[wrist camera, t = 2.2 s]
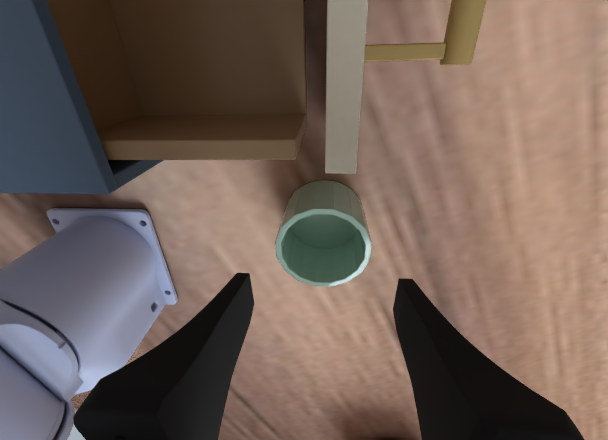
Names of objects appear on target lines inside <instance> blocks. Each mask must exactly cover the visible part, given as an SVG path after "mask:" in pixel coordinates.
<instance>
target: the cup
mask: <svg viewBox="0 0 608 440" xmlns="http://www.w3.org/2000/svg"><path fill="white" fill-rule="evenodd" d="M275 244H276V255H277V258H278V260H279V262H280V263H281V265H282V267H283V268H284V270H285V271H286V272H287V273H289V274H290V275H291V276H293V277H294V278H295V279H296V280H298V281H301V282H304V283H307V284H309V285H312V286H328V287H331V286H335V285H339V284H343V283H346V282H349V281H350V280H352V279H353V278H354V277H356V276H357V275H359V274H360V273H361V272H362V271H363V269H364V268H365V266H366V265H367V263H368V262H369V260H370V255H371V246H372V244H371V239H370V234H369V230H368V226H367V221H366V217H365V213H364V210H363V207H362V204H361V202H360V199H359V198H358V196H357V195H356V194H355V193H354V192H353V191H352V190H351V189H350V188H348V187H347V186H345V185H343V184H341V183H338V182H335V181H329V180H319V181H313V182H310V183H307V184H305V185H303V186H302V187H300V188H299V189H297V190H296V191H295V192H294V193H293V194H292V196H291V197H290V199H289V201H288V203H287V206H286V208H285V211H284V214H283V217H282V221H281V224H280V227H279V231H278V234H277V238H276V242H275Z"/></svg>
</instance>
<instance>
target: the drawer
mask: <svg viewBox="0 0 608 440" xmlns="http://www.w3.org/2000/svg"><path fill="white" fill-rule="evenodd" d="M47 3H48V5H49V8H50V10H51V13H52V16H53V18H54V21H55V24H56V26H57V29H58V31H59V34H60V37H61V39H62V42H63V45H64V47H65V50H66V52H67V55H68V58H69V60H70V63H71V65H72V68H73V71H74V73H75V76H76V79H77V81H78V84H79V86H80V89H81V92H82V94H83V97H84V100H85V102H86V105H87V107H88V110H89V113H90V115H91V118H92V121H93V123H94V126H95V128H96V131H97V134H98V136H99V139H100V142H101V144H102V147H103V149H104V152H105V155H106V157H107V160H295V159H296V158H297V155H298V152H299V149H300V146H301V142H302V139H303V136H304V133H305V130H306V128H307V83H306V29H305V0H47ZM485 3H486V0H452V2H451V7H450V12H449V18H448V23H447V28H446V34H445V39H444V43H414V44H383V45H365V42H366V28H367V14H368V0H327V46H326V127H325V173H356V170H357V156H358V141H359V127H360V113H361V99H362V85H363V70H364V62H373V61H409V60H440V64H441V65H468V64H471V63H472V59H473V54H474V50H475V46H476V42H477V37H478V33H479V29H480V25H481V20H482V16H483V12H484V8H485Z"/></svg>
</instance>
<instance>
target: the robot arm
mask: <svg viewBox="0 0 608 440" xmlns="http://www.w3.org/2000/svg"><path fill="white" fill-rule="evenodd" d="M47 216H48V218H49V220H50V222H51V224H52V225H53V227H54V229H55V231H56V234H55V235H53V236H52V237H50V238H49V239H47V240H45V241H44V242H42V243H41V244H39V245H38V246H36V247H35V248H33V249H31V250H30V251H28V252H27V253H25V254H24V255H22V256H21V257H19V258H18V259H16V260H14V261H13V262H11V263H10V264H8V265H7V266H5V267H4V268H2V269H0V440H67V439H68V437H69V435H70V432H71V430H72V427H73V424H74V425H75V427H76V428H77V430H78V431H79V432H80V433H81V434H82V435H83V437H84V438H85V439H86V440H218V436H219V431H220V426H221V421H222V417H223V412H224V408H225V403H226V399H227V395H228V390H229V386H230V382H231V378H232V374H233V371H234V368H235V365H236V362H237V359H238V356H239V353H240V350H241V347H242V345H243V342H244V339H245V336H246V333H247V330H248V327H249V324H250V320H251V316H252V311H253V306H254V300H253V293H252V287H251V281H250V274H249V273H237V274H236V275H235V276H234V277H233V278H232V279H231V280H230V281H229V282H228V283H227V285H226V286H225V287H224V288H223V289H222V290H221V291H220V292H219V293H218V294H217V295H216V296H215V297H214V299H213V300H212V301H211V302H210V303H209V304H208V305H207V306H206V307H205V308H204V309H202V310H201V311H200V312H199V313H198V314H197V315H196V316H195V317H194V318H193V319H192V320H191V321H189V322H188V323H187V324H186V325H185V326H183V327H182V328H181V329H180V330H179V331H177V332H176V333H175V334H173V335H172V336H171V337H169V338H168V339H166V340H165V341H164V342H162V343H161V344H159V345H158V346H157V347H155V348H154V349H152V350H150V351H149V352H147V353H146V354H144V355H143V356H141V357H139V358H138V359H136V360H134V361H133V362H131V363H129V364H127V365H126V366H124V365H125V364H126V363H127V361H128V360H129V359H130V357H131V356H132V354H133V353H134V351H135V350H136V348H137V347H138V345H139V344H140V342H141V341H142V339H143V338H144V336H145V335H146V333H147V332H148V330H149V329H150V327H151V326H152V324H153V323H154V321H155V320H156V318H157V317H158V315H159V314H160V312H161V311H162V309H163V308H164V306H165V305H166V304H170V305H173V304H176V302H177V300H178V298H177V295H176V292H175V289H174V286H173V283H172V280H171V277H170V274H169V271H168V268H167V265H166V262H165V259H164V256H163V253H162V250H161V247H160V244H159V241H158V239H157V236H156V233H155V230H154V227H153V224H152V221H151V218H150V215H149V213H148V212H147V211H145V210H142V209H88V208H51V209H50V210H48V211H47ZM142 220H143V221H145V222H146V223H144V222H143V221H142ZM393 312H394V319H395V325H396V330H397V334H398V337H399V341H400V344H401V348H402V351H403V355H404V358H405V362H406V365H407V368H408V372H409V375H410V379H411V383H412V387H413V392H414V397H415V403H416V408H417V413H418V419H419V425H420V430H421V436H422V440H584V438H583V437H582V435H581V434H580V432H579V430H578V429H577V427H576V426H575V424H574V423H573V421H572V420H571V419H570V417H569V416H568V415H567V413H566V412H565V411H564V410H563V409H561V408H559V407H558V406H556V405H555V404H553V403H551V402H550V401H548V400H547V399H545V398H544V397H542V396H540V395H539V394H537V393H536V392H534V391H532V390H531V389H529V388H528V387H527V386H525V385H524V384H522V383H521V382H519V381H518V380H516V379H515V378H514V377H512V376H511V375H509V374H508V373H507V372H505V371H504V370H503V369H501V368H500V367H499V366H498V365H496V364H495V363H494V362H492V361H491V360H490V359H489V358H487V357H486V356H485V355H484V354H482V353H481V352H480V351H479V350H478V349H477V348H475V347H474V346H473V345H472V344H471V343H470V342H469V341H468V340H467V339H465V338H464V337H463V336H462V335H461V334H460V333H459V332H458V331H457V330H456V329H455V328H454V327H453V326H452V325H451V324H450V323H449V322H448V321H447V319H446V318H445V317H444V316H443V315H442V314H441V313H440V312H439V311H438V309H437V308H436V307H435V306H434V305H433V304H432V303H431V301H430V300H429V299H428V298H427V297H426V295H425V294H424V293H423V292H422V290H421V289H420V288H419V287H418V285H417V284H416V283H415V282H414V280H413V279H399V280H398V286H397V291H396V297H395V302H394V307H393ZM123 366H124V367H123ZM91 389H92V391H91V392H90V393H89V395H88V396H87V398H86V399H85V401H84V402H83V403H82V405H81V406H80V408H79V409H78V410H77V412H76V413H75V409H74V406H73V403H72V402H71V399H72V397H73V396H74V395H76V394H80V393H83V392H86V391H89V390H91Z"/></svg>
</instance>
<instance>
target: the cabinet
mask: <svg viewBox="0 0 608 440" xmlns="http://www.w3.org/2000/svg"><path fill="white" fill-rule="evenodd" d="M162 161H163V160H107V157H106V155H105V152H104V149H103V147H102V144H101V142H100V139H99V136H98V134H97V131H96V128H95V126H94V123H93V121H92V118H91V115H90V113H89V110H88V107H87V105H86V102H85V100H84V97H83V94H82V92H81V89H80V86H79V84H78V81H77V79H76V76H75V73H74V71H73V68H72V65H71V63H70V60H69V58H68V55H67V52H66V50H65V47H64V45H63V42H62V39H61V37H60V34H59V31H58V29H57V26H56V24H55V21H54V18H53V16H52V13H51V10H50V8H49V5H48V3H47V0H0V193H60V194H110V193H111V192H113V191H115V190H116V189H118V188H120V187H121V186H123V185H124V184H126V183H128V182H129V181H131V180H132V179H134V178H136V177H137V176H139V175H141V174H142V173H144V172H145V171H147V170H149V169H150V168H152V167H154V166H155V165H157V164H158V163H160V162H162Z"/></svg>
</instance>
